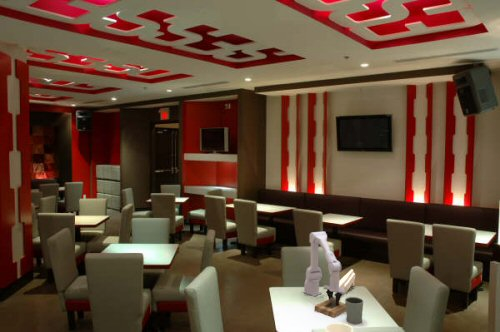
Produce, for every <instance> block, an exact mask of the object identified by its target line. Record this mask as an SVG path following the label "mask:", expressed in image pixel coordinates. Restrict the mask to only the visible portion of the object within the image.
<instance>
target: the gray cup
mask: <svg viewBox="0 0 500 332" xmlns="http://www.w3.org/2000/svg"><path fill="white" fill-rule="evenodd" d="M344 302H345V304H346V311H345V313H346V315H345V316H346V321H347V322H348V323H349V324H355V325H357V324H361V323H362V322H363V310H364V299H362V298H360V297H356V296H348V297H346V298H345V300H344Z"/></svg>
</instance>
